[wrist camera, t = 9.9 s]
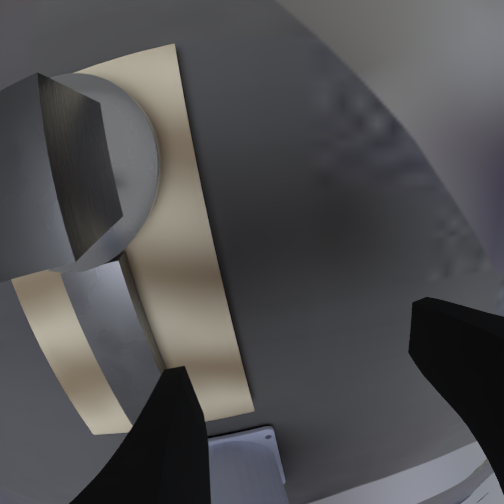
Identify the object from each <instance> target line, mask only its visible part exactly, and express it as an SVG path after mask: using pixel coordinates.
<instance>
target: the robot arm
mask: <svg viewBox="0 0 504 504" xmlns="http://www.w3.org/2000/svg"><path fill="white" fill-rule="evenodd" d="M408 353H409V354H410V356H411V358H412V359H413V361H414V362H415V364H416V365H417V367H418V368H419V370H420V371H421V373H422V374H423V375H424V376H425V378H426V379H427V380H428V381H429V382H430V383H431V384H432V386H433V387H434V388H435V389H436V390H437V391H438V392H439V393H440V394H441V396H442V397H443V398H444V399H445V400H446V401H447V402H448V403H449V404H450V406H451V407H452V408H453V409H454V410H455V411H456V412H457V413H458V415H459V416H460V417H461V418H462V419H463V421H464V422H465V423H466V425H467V426H468V427H469V429H470V431H471V432H472V434H473V435H474V437H475V438H476V440H477V441H478V443H479V445H480V446H481V448H482V450H483V452H484V453H485V455H486V457H487V459H488V460H489V462H490V464H491V466H492V469H493V471H494V473H495V475H496V477H497V479H498V481H499V484H500V486H501V489H502V492H503V494H504V317H503V316H498V315H494V314H490V313H487V312H483V311H479V310H476V309H472V308H469V307H465V306H462V305H458V304H455V303H451V302H447V301H443V300H439V299H435V298H430V297H426V298H423V299H420V300H418V301H415V302H413V303H412V318H411V331H410V341H409V351H408ZM267 435H268V436H267ZM285 483H286V481H285V476H284V472H283V468H282V464H281V459H280V455H279V451H278V446H277V442H276V438H275V433H274V430H273V427H271V426H265V427H261V428H256V429H252V430H248V431H243V432H239V433H234V434H229V435H224V436H219V437H214V438H208V437H207V430H206V424H205V418H204V413H203V411H202V408H201V406H200V403H199V401H198V398H197V396H196V393H195V391H194V388H193V386H192V383H191V380H190V378H189V375H188V373H187V370H186V367H185V366H180V367H175V368H169V369H164V371H163V372H162V374H161V376H160V378H159V380H158V382H157V384H156V386H155V387H154V389H153V391H152V393H151V395H150V397H149V399H148V401H147V402H146V404H145V406H144V408H143V409H142V411H141V413H140V415H139V416H138V418H137V420H136V422H135V423H134V425H133V427H132V428H131V430H130V431H129V433H128V434H127V436H126V437H125V439H124V440H123V442H122V443H121V445H120V446H119V448H118V449H117V451H116V452H115V453H114V455H113V456H112V458H111V459H110V460H109V461H108V463H107V464H106V465H105V466H104V468H103V469H102V470H101V471H100V473H99V474H98V475H97V476H96V477H95V478H94V479H93V480H92V481H91V482H90V483H89V484H88V485H87V487H86V488H85V489H84V490H83V491H82V492H81V493H80V494H79V495H78V496H77V497H76V498H75V499H74V500H73V501H72V502H70V503H69V504H289V500H288V497H287V494H286V491H285V488H284V485H283V484H285Z"/></svg>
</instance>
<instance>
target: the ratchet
mask: <svg viewBox="0 0 504 504" xmlns="http://www.w3.org/2000/svg"><path fill="white" fill-rule="evenodd" d="M50 79H52V80H54V81H56V82H59V83H61V84H63V85H65V86H67V87H69V88H71V89H73V90H75V91H77V92H79V93H81V94H83V95H85V96H87V97H89V98H91V99H93V100H95V101H97V102H99V103H100V105H101V111H102V117H103V123H104V129H105V134H106V140H107V145H108V150H109V155H110V160H111V165H112V170H113V174H114V179H115V183H116V188H117V192H118V196H119V200H120V204H121V209H122V213H123V217H122V218H121V219H120V220H119V221H118V222H117V223H116V224H114V225H113V226H112V227H111V228H110V229H109V230H108V231H107V232H106V233H105V234H104V235H103V236H102V237H101V238H100V239H99V240H98V241H97V242H96V243H94V244H93V245H92V246H91V247H90V248H89V249H88V250H87V251H86V252H85V253H84V254H83V255H82V256H81V257H80V258H79V259H78V260H77V261H76V262H75V263H71V264H67V265H63V266H59V267H55V268H51V269H48V270H49V271H52V272H60V273H62V274H61V278H62V281H63V283H64V286H65V289H66V291H67V294H68V297H69V299H70V302H71V304H72V307H73V309H74V312H75V314H76V316H77V319H78V321H79V324H80V326H81V328H82V330H83V333H84V335H85V337H86V339H87V342H88V344H89V346H90V348H91V350H92V352H93V354H94V356H95V358H96V361H97V363H98V365H99V367H100V369H101V371H102V373H103V374H104V376H105V378H106V380H107V382H108V384H109V386H110V388H111V390H112V391H113V393H114V395H115V397H116V399H117V400H118V402H119V404H120V406H121V407H122V409H123V411H124V413H125V414H126V416H127V418H128V419H129V421H130V423H131V424H132V426H133V425H134V423H135V422H136V420H137V418H138V416H139V415H140V413H141V411H142V409H143V408H144V406H145V404H146V402H147V401H148V399H149V397H150V395H151V393H152V391H153V389H154V387H155V386H156V384H157V382H158V380H159V378H160V376H161V374H162V372H163V371H164V369H167V368H166V366H165V363H164V361H163V358H162V356H161V353H160V351H159V348H158V345H157V343H156V340H155V338H154V335H153V332H152V330H151V327H150V324H149V321H148V319H147V316H146V313H145V310H144V307H143V304H142V301H141V298H140V295H139V292H138V289H137V286H136V283H135V280H134V277H133V274H132V271H131V267H130V264H129V261H128V258H127V254H126V251H123V250H124V249H125V248H126V247H127V246H128V245H129V244H130V242H131V241H132V240H133V239H134V238H135V236H136V235H137V233H138V232H139V231H140V229H141V228H142V226H143V225H144V223H145V222H146V220H147V219H148V217H149V215H150V213H151V211H152V209H153V207H154V205H155V202H156V200H157V197H158V193H159V189H160V185H161V178H162V154H161V146H160V143H159V139H158V135H157V133H156V130H155V128H154V125H153V123H152V121H151V120H150V118H149V116H148V115H147V113H146V112H145V111H144V109H143V108H142V107H141V106H140V104H138V103H137V102H136V101H135V100H134V99H133V98H132V97H131V96H130V95H129V94H127V93H126V92H125V91H124V90H123V89H121V88H120V87H118V86H117V85H115V84H114V83H112V82H110V81H108V80H106V79H104V78H101V77H98V76H94V75H91V74H82V73H69V74H62V75H57V76H54V77H51V78H50Z"/></svg>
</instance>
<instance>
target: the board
mask: <svg viewBox="0 0 504 504" xmlns="http://www.w3.org/2000/svg"><path fill="white" fill-rule="evenodd" d="M75 73H82V74H91V75H94V76H98V77H101V78H104V79H106V80H108V81H110V82H112V83H114V84H115V85H117V86H118V87H120V88H121V89H123V90H124V91H125V92H126V93H127V94H129V95H130V96H131V97H132V98H133V99H134V100H135V101H136V102H137V103H138V104H140V106H141V107H142V108H143V109H144V111H145V112H146V113H147V115H148V116H149V118H150V120H151V121H152V123H153V125H154V128H155V130H156V133H157V135H158V139H159V143H160V146H161V154H162V178H161V185H160V189H159V193H158V197H157V200H156V202H155V205H154V207H153V209H152V211H151V213H150V215H149V217H148V219H147V220H146V222H145V223H144V225H143V226H142V228H141V229H140V231H139V232H138V233H137V235H136V236H135V238H134V239H133V240H132V241H131V242H130V244H129V245H128V246H127V247H126V248H125V249H124V250H123V251H126V254H127V258H128V261H129V264H130V267H131V271H132V274H133V277H134V280H135V283H136V286H137V289H138V292H139V295H140V298H141V301H142V304H143V307H144V310H145V313H146V316H147V319H148V321H149V324H150V327H151V330H152V332H153V335H154V338H155V340H156V343H157V345H158V348H159V351H160V353H161V356H162V358H163V361H164V363H165V366H166V368H167V369H169V368H175V367H180V366H185V367H186V370H187V373H188V375H189V378H190V380H191V383H192V386H193V388H194V391H195V393H196V396H197V398H198V401H199V403H200V406H201V408H202V411H203V413H204V418H205V422H206V421H211V420H216V419H221V418H226V417H231V416H236V415H240V414H245V413H249V412H253V411H254V407H253V403H252V399H251V395H250V392H249V388H248V384H247V380H246V376H245V372H244V369H243V365H242V361H241V357H240V353H239V349H238V345H237V341H236V337H235V333H234V329H233V325H232V321H231V316H230V312H229V308H228V304H227V300H226V296H225V291H224V287H223V283H222V278H221V274H220V270H219V265H218V261H217V257H216V252H215V248H214V243H213V239H212V234H211V230H210V225H209V220H208V216H207V211H206V206H205V202H204V197H203V192H202V187H201V183H200V178H199V173H198V168H197V163H196V158H195V153H194V148H193V143H192V137H191V132H190V127H189V122H188V116H187V111H186V106H185V100H184V95H183V89H182V83H181V78H180V72H179V66H178V60H177V54H176V49H175V44H171V45H167V46H162V47H158V48H154V49H149V50H145V51H142V52H138V53H134V54H130V55H127V56H123V57H120V58H116V59H113V60H110V61H107V62H104V63H101V64H98V65H95V66H92V67H89V68H86V69H83V70H80V71H78V72H75ZM61 274H62V273H60V272H52V271H49V270H44V271H40V272H36V273H32V274H29V275H25V276H21V277H18V278H14V279H11V280H12V283H13V286H14V288H15V291H16V293H17V296H18V298H19V301H20V303H21V306H22V308H23V310H24V313H25V315H26V317H27V319H28V322H29V324H30V326H31V328H32V330H33V332H34V334H35V337H36V339H37V341H38V343H39V345H40V347H41V349H42V351H43V353H44V355H45V356H46V358H47V360H48V362H49V364H50V366H51V368H52V369H53V371H54V373H55V375H56V377H57V378H58V380H59V382H60V384H61V385H62V387H63V389H64V390H65V392H66V394H67V395H68V397H69V399H70V400H71V402H72V403H73V405H74V406H75V408H76V410H77V411H78V413H79V414H80V416H81V417H82V419H83V420H84V422H85V423H86V425H87V426H88V427H89V429H90V430H91V432H92V433H93V435H96V434H112V433H124V432H129V431H130V430H131V428H132V427H133V426H132V424H131V423H130V421H129V419H128V418H127V416H126V414H125V413H124V411H123V409H122V407H121V406H120V404H119V402H118V400H117V399H116V397H115V395H114V393H113V391H112V390H111V388H110V386H109V384H108V382H107V380H106V378H105V376H104V374H103V373H102V371H101V369H100V367H99V365H98V363H97V361H96V358H95V356H94V354H93V352H92V350H91V348H90V346H89V344H88V342H87V339H86V337H85V335H84V333H83V330H82V328H81V326H80V324H79V321H78V319H77V316H76V314H75V312H74V309H73V307H72V304H71V302H70V299H69V297H68V294H67V291H66V289H65V286H64V283H63V281H62V278H61Z"/></svg>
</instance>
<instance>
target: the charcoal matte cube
mask: <svg viewBox="0 0 504 504" xmlns="http://www.w3.org/2000/svg"><path fill="white" fill-rule="evenodd" d="M122 217H123V213H122V209H121V204H120V200H119V196H118V192H117V188H116V183H115V179H114V174H113V170H112V165H111V160H110V155H109V150H108V145H107V140H106V134H105V129H104V123H103V117H102V111H101V105H100V103H99V102H97V101H95V100H93V99H91V98H89V97H87V96H85V95H83V94H81V93H79V92H77V91H75V90H73V89H71V88H69V87H67V86H65V85H63V84H61V83H59V82H56V81H54V80H52V79H50V78H48V77H46V76H44V75H41V74H39V73H36V74H33V75H31V76H29V77H27V78H25V79H23V80H21V81H19V82H17V83H15V84H13V85H11V86H9V87H7V88H5V89H3V90H1V91H0V282H3V281H7V280H10V279H14V278H18V277H21V276H25V275H29V274H32V273H36V272H40V271H44V270H48V269H51V268H55V267H59V266H63V265H67V264H71V263H75V262H76V261H77V260H78V259H79V258H80V257H81V256H82V255H83V254H84V253H85V252H86V251H87V250H88V249H89V248H90V247H91V246H92V245H93V244H94V243H96V242H97V241H98V240H99V239H100V238H101V237H102V236H103V235H104V234H105V233H106V232H107V231H108V230H109V229H110V228H111V227H112V226H113V225H114V224H116V223H117V222H118V221H119V220H120V219H121V218H122Z"/></svg>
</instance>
